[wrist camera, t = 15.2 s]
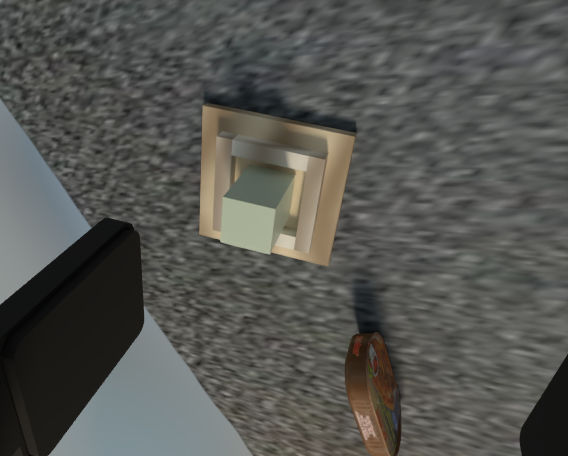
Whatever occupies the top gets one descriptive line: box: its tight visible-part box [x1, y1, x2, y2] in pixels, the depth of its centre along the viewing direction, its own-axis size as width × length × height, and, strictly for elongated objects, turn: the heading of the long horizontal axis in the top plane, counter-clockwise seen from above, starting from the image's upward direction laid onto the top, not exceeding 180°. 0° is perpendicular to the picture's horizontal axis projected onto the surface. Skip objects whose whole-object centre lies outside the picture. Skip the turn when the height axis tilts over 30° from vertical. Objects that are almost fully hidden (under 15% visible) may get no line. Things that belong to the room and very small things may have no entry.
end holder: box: [199, 103, 356, 266], centre depth 45 cm, size 14×14×2 cm
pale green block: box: [220, 164, 295, 255], centre depth 42 cm, size 4×4×7 cm
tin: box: [345, 332, 401, 456], centre depth 51 cm, size 15×3×8 cm, turn 18°
